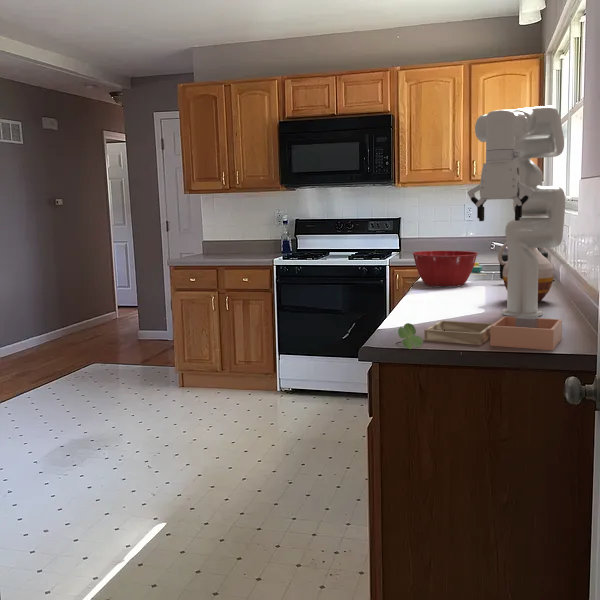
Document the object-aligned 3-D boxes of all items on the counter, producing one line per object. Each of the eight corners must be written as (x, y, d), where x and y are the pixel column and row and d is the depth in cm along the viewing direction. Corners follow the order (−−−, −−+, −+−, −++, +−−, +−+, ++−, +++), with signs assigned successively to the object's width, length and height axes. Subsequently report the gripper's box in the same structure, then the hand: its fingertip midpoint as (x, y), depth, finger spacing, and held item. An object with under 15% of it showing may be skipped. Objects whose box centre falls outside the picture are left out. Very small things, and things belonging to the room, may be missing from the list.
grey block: (518, 336, 179) (519, 315, 178) (538, 338, 177) (538, 316, 176) (515, 340, 175) (515, 318, 174) (534, 341, 172) (535, 319, 171)
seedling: (406, 362, 177) (421, 353, 171) (382, 348, 175) (395, 339, 170) (411, 341, 181) (425, 332, 176) (387, 327, 179) (401, 317, 174)
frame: (441, 330, 195) (441, 320, 195) (494, 334, 187) (494, 323, 187) (424, 340, 182) (424, 330, 181) (481, 344, 174) (481, 333, 174)
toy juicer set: (443, 272, 353) (443, 258, 352) (478, 272, 351) (478, 257, 350) (449, 279, 325) (449, 263, 324) (487, 278, 323) (487, 262, 322)
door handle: (548, 286, 281) (548, 249, 279) (500, 288, 286) (499, 251, 284) (547, 285, 284) (547, 248, 282) (499, 287, 289) (498, 251, 287)
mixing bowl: (482, 283, 300) (482, 250, 297) (471, 292, 274) (471, 255, 272) (421, 282, 311) (421, 250, 309) (405, 290, 285) (405, 255, 283)
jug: (497, 306, 236) (498, 222, 231) (496, 299, 253) (497, 220, 248) (555, 306, 230) (558, 221, 226) (550, 299, 247) (552, 219, 243)
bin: (503, 334, 186) (503, 316, 186) (561, 338, 179) (562, 319, 178) (490, 345, 173) (490, 325, 172) (553, 350, 165) (553, 329, 164)
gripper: (535, 156, 177) (534, 219, 180) (471, 160, 186) (471, 220, 188) (530, 154, 171) (529, 220, 173) (464, 158, 179) (464, 221, 182)
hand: (499, 220), depth 181 cm, fingers open, 9 cm apart
